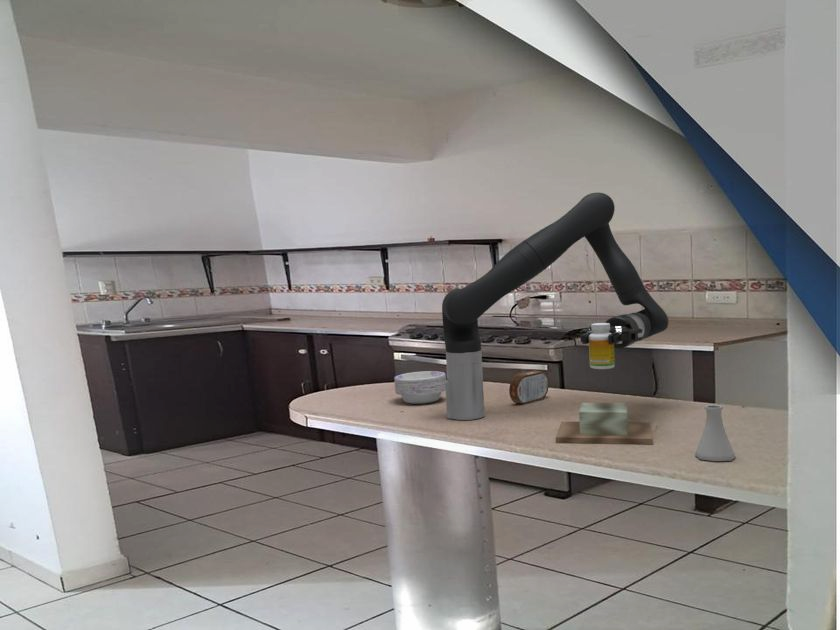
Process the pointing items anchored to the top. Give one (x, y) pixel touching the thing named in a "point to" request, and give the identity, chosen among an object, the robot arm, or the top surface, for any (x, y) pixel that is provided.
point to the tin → (528, 387)
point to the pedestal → (604, 426)
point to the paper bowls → (420, 386)
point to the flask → (714, 437)
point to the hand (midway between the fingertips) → (596, 339)
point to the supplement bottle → (601, 347)
